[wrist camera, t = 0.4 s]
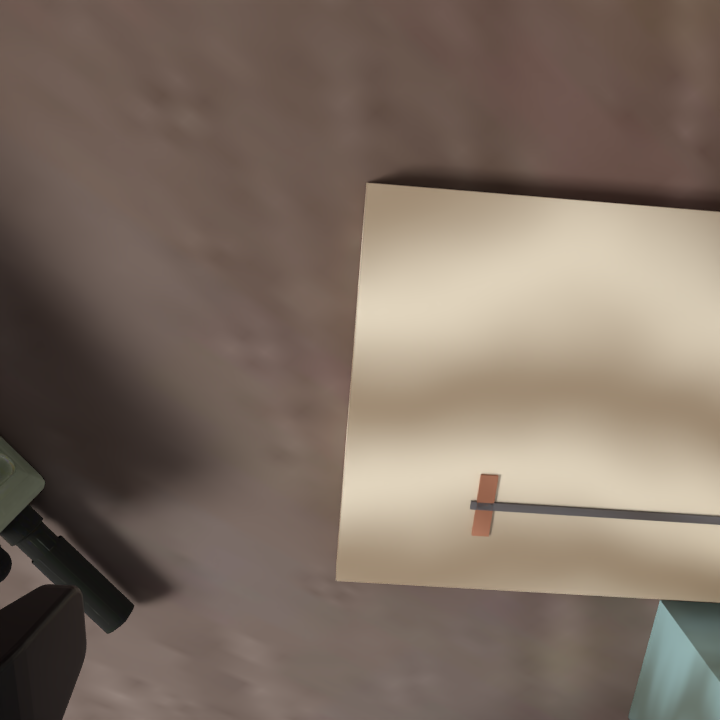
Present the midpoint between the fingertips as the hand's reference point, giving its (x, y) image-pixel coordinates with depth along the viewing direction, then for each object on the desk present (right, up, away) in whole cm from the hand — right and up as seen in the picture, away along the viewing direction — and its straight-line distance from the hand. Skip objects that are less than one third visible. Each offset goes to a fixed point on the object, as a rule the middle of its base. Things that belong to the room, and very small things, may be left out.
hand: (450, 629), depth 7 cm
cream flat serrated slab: (+9, +2, +14) cm, 17 cm away
